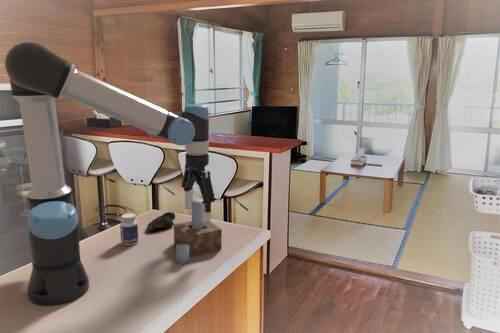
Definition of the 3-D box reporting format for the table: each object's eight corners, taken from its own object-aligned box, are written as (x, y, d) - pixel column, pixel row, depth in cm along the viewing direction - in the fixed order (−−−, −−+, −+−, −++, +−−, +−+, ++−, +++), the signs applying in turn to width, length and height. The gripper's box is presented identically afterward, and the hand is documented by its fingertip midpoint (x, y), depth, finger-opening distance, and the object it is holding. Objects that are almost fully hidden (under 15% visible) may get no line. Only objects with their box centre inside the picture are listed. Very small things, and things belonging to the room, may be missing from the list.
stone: (140, 231, 158) (139, 217, 157) (167, 221, 168) (167, 208, 167) (152, 236, 154) (152, 222, 153) (179, 225, 164) (179, 212, 163)
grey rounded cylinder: (178, 264, 132) (178, 249, 130) (174, 259, 135) (174, 244, 134) (190, 262, 133) (191, 247, 132) (186, 257, 137) (186, 242, 136)
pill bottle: (141, 242, 148) (140, 214, 145) (129, 247, 143) (127, 219, 141) (130, 238, 151) (129, 211, 148) (117, 243, 146) (116, 216, 144)
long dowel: (194, 249, 143) (194, 204, 139) (189, 245, 146) (189, 200, 142) (205, 247, 145) (205, 202, 141) (200, 242, 148) (200, 199, 144)
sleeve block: (188, 256, 137) (188, 236, 136) (174, 243, 147) (173, 224, 146) (221, 248, 144) (221, 229, 142) (205, 236, 154) (205, 218, 152)
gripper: (226, 159, 130) (225, 224, 135) (191, 145, 150) (191, 202, 155) (204, 161, 126) (204, 229, 131) (171, 147, 146) (172, 206, 151)
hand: (197, 215), depth 143 cm, fingers open, 13 cm apart
